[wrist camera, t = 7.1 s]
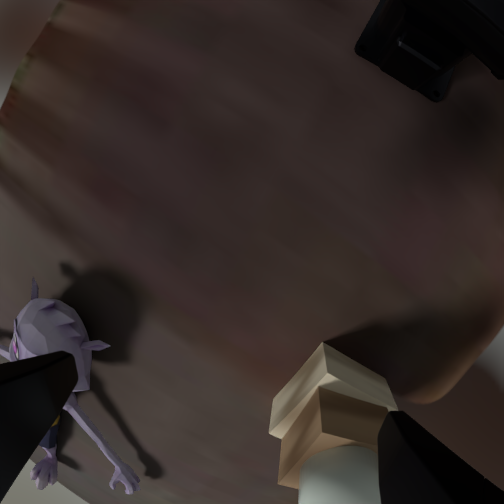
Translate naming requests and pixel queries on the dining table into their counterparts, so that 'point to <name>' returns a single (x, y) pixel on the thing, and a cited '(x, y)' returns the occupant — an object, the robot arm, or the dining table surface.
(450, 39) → the robot arm
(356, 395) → the base block
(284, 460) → the top block
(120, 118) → the dining table surface
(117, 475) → the toy
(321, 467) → the grey rounded cylinder
